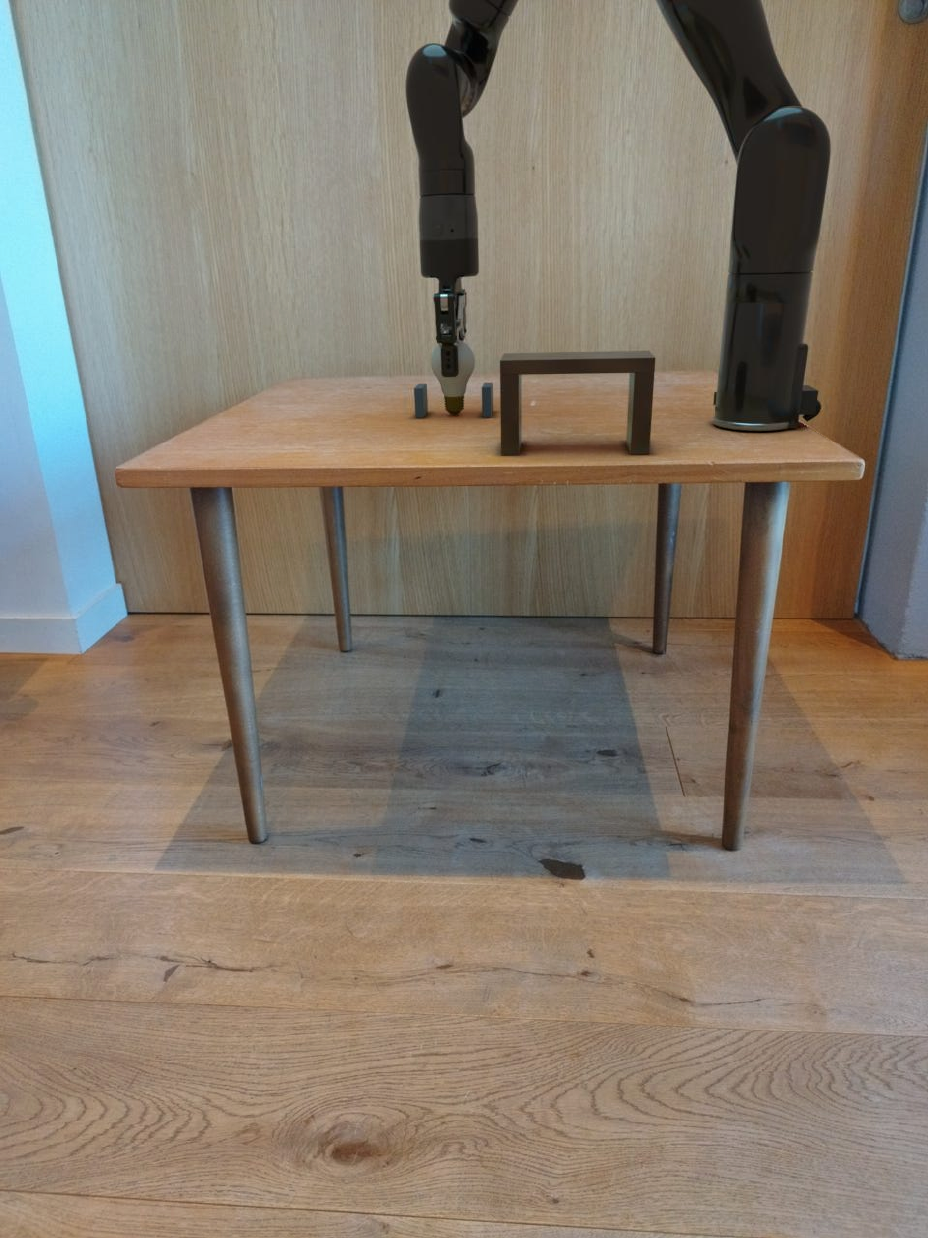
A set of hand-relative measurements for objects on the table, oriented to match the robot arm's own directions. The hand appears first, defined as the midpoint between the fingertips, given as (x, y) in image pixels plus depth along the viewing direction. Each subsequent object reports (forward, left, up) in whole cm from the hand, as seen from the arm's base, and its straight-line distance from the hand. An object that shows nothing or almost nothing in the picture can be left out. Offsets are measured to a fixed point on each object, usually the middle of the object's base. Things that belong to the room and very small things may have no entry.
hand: (453, 372), depth 111 cm
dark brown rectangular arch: (-16, +22, -6) cm, 27 cm away
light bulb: (0, 0, -6) cm, 6 cm away
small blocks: (0, 0, -6) cm, 6 cm away
